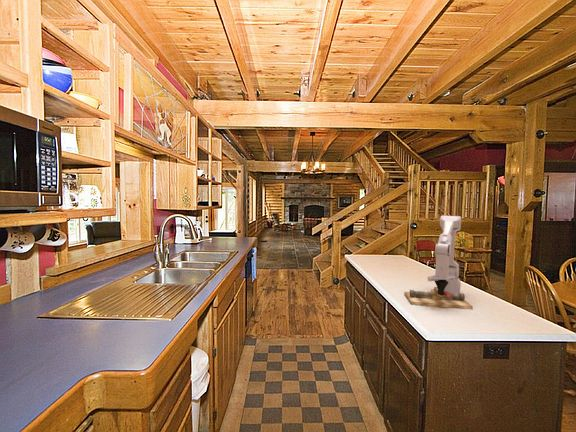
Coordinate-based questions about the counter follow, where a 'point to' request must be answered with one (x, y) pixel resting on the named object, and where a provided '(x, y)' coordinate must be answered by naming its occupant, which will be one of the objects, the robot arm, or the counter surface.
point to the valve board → (437, 299)
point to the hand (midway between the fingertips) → (440, 294)
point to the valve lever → (444, 292)
